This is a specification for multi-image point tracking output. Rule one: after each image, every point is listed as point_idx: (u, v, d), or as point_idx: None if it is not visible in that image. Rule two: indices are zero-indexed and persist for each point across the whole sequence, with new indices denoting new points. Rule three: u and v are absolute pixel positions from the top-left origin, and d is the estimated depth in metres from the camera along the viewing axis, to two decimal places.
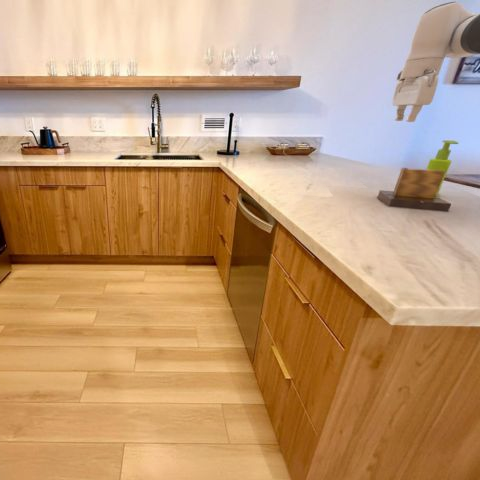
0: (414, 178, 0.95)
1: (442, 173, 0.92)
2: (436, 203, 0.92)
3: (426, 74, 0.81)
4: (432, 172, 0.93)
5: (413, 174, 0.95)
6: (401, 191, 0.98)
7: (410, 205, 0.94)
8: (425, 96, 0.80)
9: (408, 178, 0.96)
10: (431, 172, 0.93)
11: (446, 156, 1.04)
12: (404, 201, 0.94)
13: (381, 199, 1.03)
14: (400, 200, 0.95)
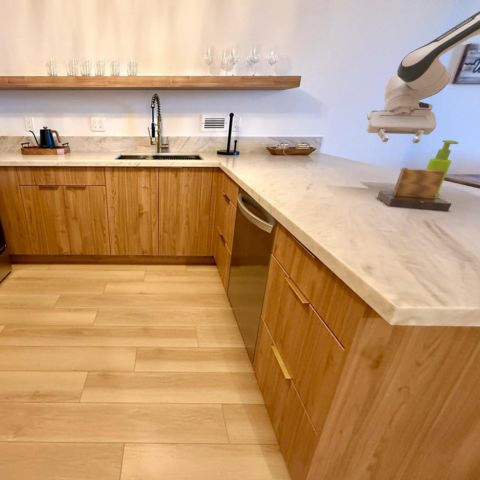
0: (414, 178, 0.95)
1: (442, 173, 0.92)
2: (436, 203, 0.92)
3: None
4: (432, 172, 0.93)
5: (413, 174, 0.95)
6: (401, 191, 0.98)
7: (410, 205, 0.94)
8: (368, 125, 1.08)
9: (408, 178, 0.96)
10: (431, 172, 0.93)
11: (446, 156, 1.04)
12: (404, 201, 0.94)
13: (381, 199, 1.03)
14: (400, 200, 0.95)
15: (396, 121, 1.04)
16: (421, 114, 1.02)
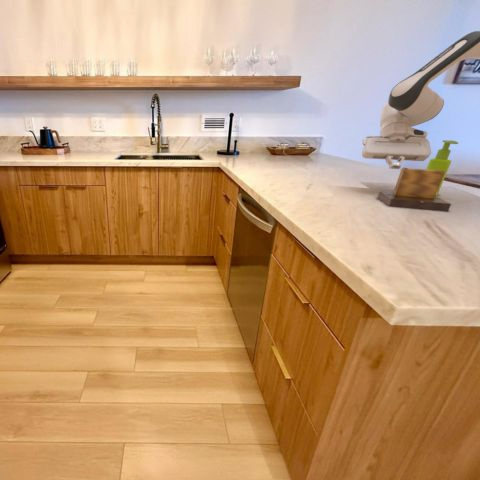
0: (414, 178, 0.95)
1: (442, 173, 0.92)
2: (436, 203, 0.92)
3: None
4: (432, 172, 0.93)
5: (413, 174, 0.95)
6: (401, 191, 0.98)
7: (410, 205, 0.94)
8: (363, 151, 1.09)
9: (408, 178, 0.96)
10: (431, 172, 0.93)
11: (446, 156, 1.04)
12: (404, 201, 0.94)
13: (381, 199, 1.03)
14: (400, 200, 0.95)
15: (391, 147, 1.05)
16: (415, 141, 1.03)
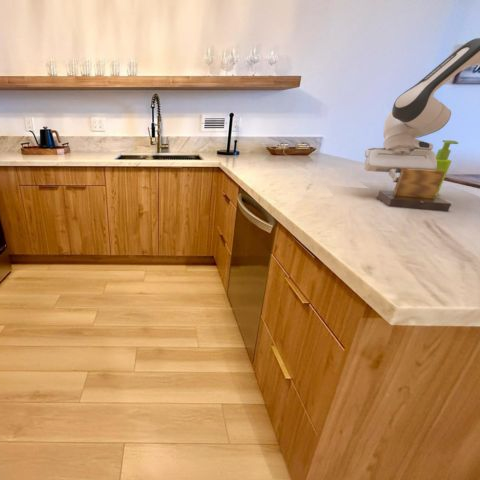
0: (414, 178, 0.95)
1: (442, 173, 0.92)
2: (436, 203, 0.92)
3: None
4: (432, 172, 0.93)
5: (413, 174, 0.95)
6: (401, 191, 0.98)
7: (410, 205, 0.94)
8: (365, 164, 1.04)
9: (408, 178, 0.95)
10: (431, 172, 0.93)
11: (446, 156, 1.04)
12: (404, 201, 0.94)
13: (381, 199, 1.03)
14: (400, 200, 0.95)
15: (395, 160, 1.00)
16: (421, 154, 0.99)
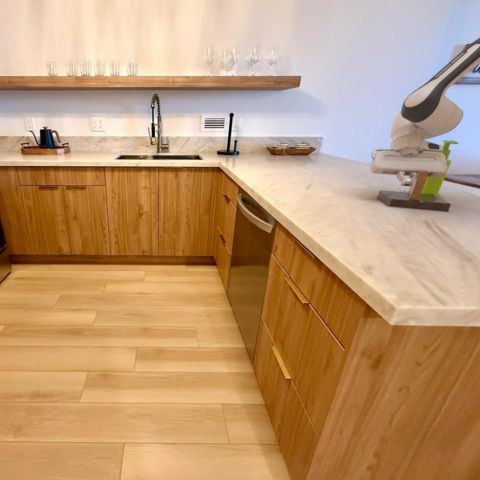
0: None
1: None
2: (436, 203, 0.92)
3: None
4: None
5: None
6: (419, 194, 0.94)
7: (410, 205, 0.94)
8: (372, 165, 1.00)
9: None
10: None
11: (446, 156, 1.04)
12: (404, 201, 0.94)
13: (381, 199, 1.03)
14: (400, 200, 0.95)
15: (403, 162, 0.96)
16: (430, 156, 0.94)
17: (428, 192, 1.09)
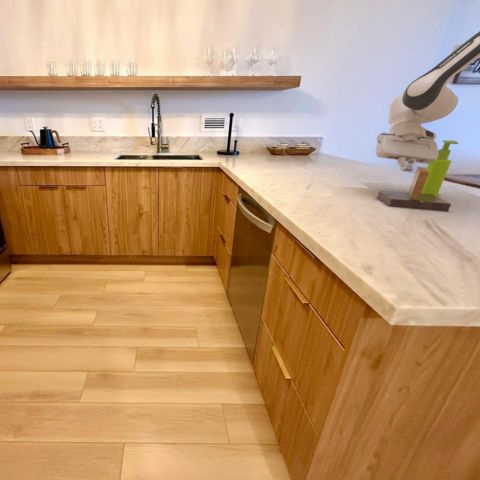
0: None
1: None
2: (436, 203, 0.92)
3: None
4: (425, 170, 0.96)
5: None
6: (419, 194, 0.94)
7: (410, 205, 0.94)
8: (378, 149, 1.03)
9: None
10: (425, 170, 0.95)
11: (446, 156, 1.04)
12: (404, 201, 0.94)
13: (381, 199, 1.03)
14: (400, 200, 0.95)
15: (405, 148, 1.01)
16: (425, 143, 1.02)
17: (428, 192, 1.09)
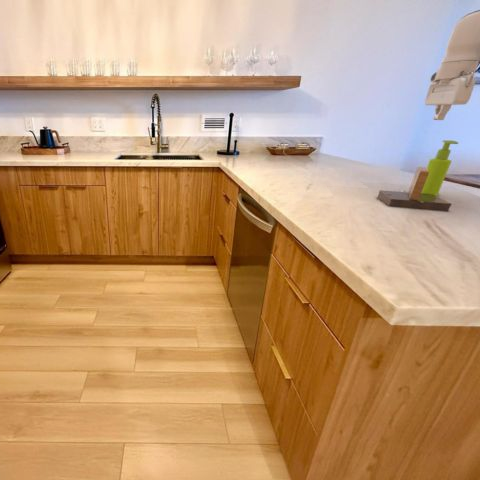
0: None
1: None
2: (436, 203, 0.92)
3: (463, 75, 0.87)
4: (425, 170, 0.96)
5: None
6: (419, 194, 0.94)
7: (410, 205, 0.94)
8: (462, 96, 0.86)
9: None
10: (425, 170, 0.95)
11: (446, 156, 1.04)
12: (404, 201, 0.94)
13: (381, 199, 1.03)
14: (400, 200, 0.95)
15: None
16: None
17: (428, 192, 1.09)
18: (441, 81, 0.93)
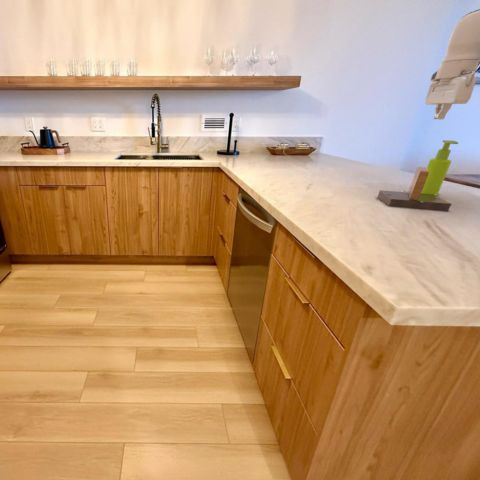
0: None
1: None
2: (436, 203, 0.92)
3: (463, 75, 0.87)
4: (425, 170, 0.96)
5: None
6: (419, 194, 0.94)
7: (410, 205, 0.94)
8: (463, 95, 0.86)
9: None
10: (425, 170, 0.95)
11: (446, 156, 1.04)
12: (404, 201, 0.94)
13: (381, 199, 1.03)
14: (400, 200, 0.95)
15: None
16: None
17: (428, 192, 1.09)
18: (442, 80, 0.93)
